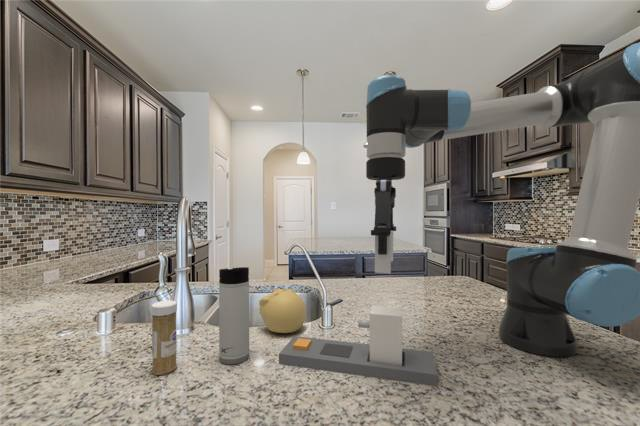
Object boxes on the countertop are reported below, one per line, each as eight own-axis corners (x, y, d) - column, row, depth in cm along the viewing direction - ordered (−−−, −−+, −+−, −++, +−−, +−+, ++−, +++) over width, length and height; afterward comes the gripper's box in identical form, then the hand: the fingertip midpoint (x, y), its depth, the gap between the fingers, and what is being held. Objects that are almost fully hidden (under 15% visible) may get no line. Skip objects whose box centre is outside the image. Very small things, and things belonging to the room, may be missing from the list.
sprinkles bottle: (173, 374, 58) (173, 305, 58) (148, 377, 57) (147, 307, 57) (179, 362, 63) (179, 298, 63) (155, 365, 62) (155, 300, 62)
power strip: (432, 366, 61) (432, 347, 61) (437, 391, 52) (437, 370, 52) (294, 349, 69) (294, 332, 69) (278, 368, 60) (278, 349, 60)
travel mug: (222, 368, 60) (222, 269, 60) (217, 355, 66) (216, 264, 66) (252, 361, 63) (252, 267, 63) (245, 349, 69) (245, 262, 69)
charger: (402, 362, 61) (401, 308, 61) (402, 375, 56) (401, 316, 56) (360, 357, 63) (360, 305, 63) (357, 369, 58) (357, 312, 58)
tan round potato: (286, 318, 89) (286, 282, 89) (314, 329, 81) (314, 289, 81) (253, 328, 81) (253, 289, 81) (280, 342, 73) (280, 298, 73)
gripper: (372, 168, 72) (372, 256, 72) (357, 146, 48) (356, 278, 48) (404, 167, 70) (404, 258, 70) (405, 143, 46) (405, 281, 46)
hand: (385, 266), depth 59 cm, fingers open, 13 cm apart
